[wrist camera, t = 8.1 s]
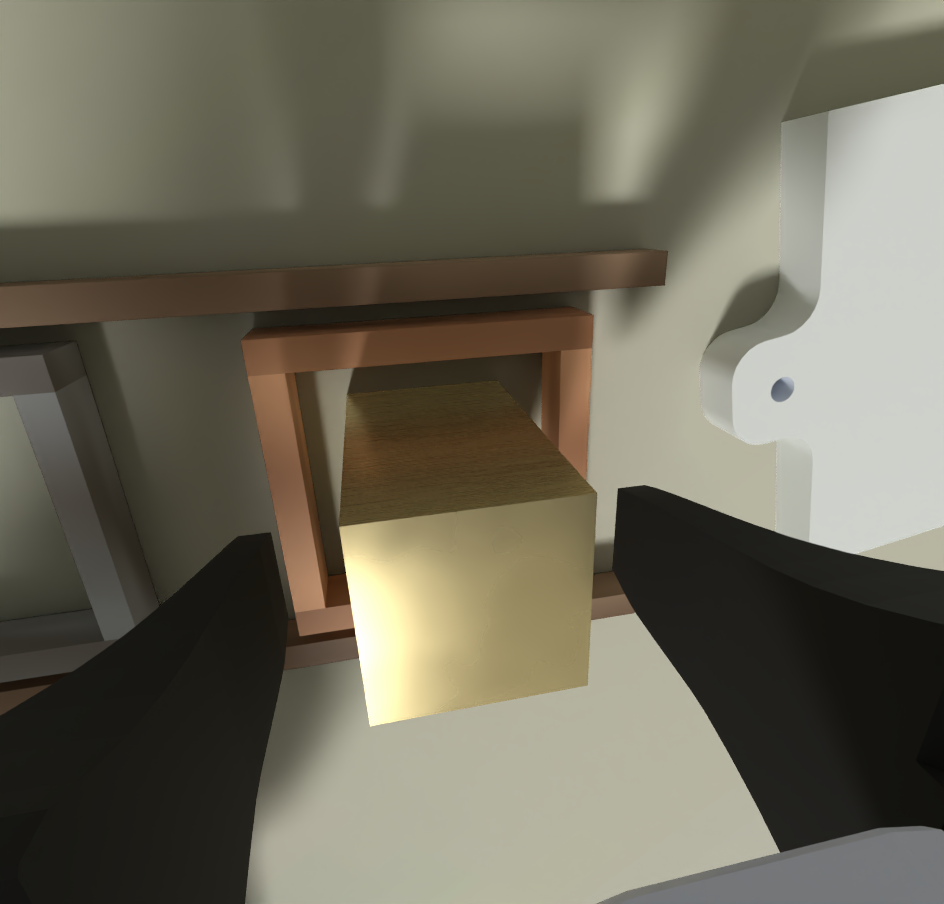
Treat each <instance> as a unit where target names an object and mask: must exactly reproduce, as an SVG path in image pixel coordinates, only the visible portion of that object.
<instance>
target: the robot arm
mask: <svg viewBox="0 0 944 904" xmlns="http://www.w3.org/2000/svg"><path fill="white" fill-rule="evenodd" d="M612 569H613V571H614V573H615V575H616V577H617V579H618V581H619V583H620V586H621V588H622V590H623V591H624V593H625V595H626V597H627V599H628V601H629V603H630V605H631V606H632V608H633V609H634V611H635V612H636V614H637V615H638V617H639V618H640V620H641V621H642V622H643V624H644V625H645V627H646V628H647V630H648V631H649V632H650V634H651V635H652V637H653V638H654V640H655V641H656V642H657V644H658V645H659V646H660V648H661V649H662V651H663V652H664V653H665V655H666V656H667V658H668V659H669V660H670V662H671V663H672V665H673V666H674V667H675V669H676V670H677V672H678V673H679V674H680V676H681V677H682V678H683V680H684V681H685V683H686V684H687V685H688V687H689V688H690V690H691V691H692V693H693V694H694V696H695V697H696V699H697V700H698V702H699V703H700V705H701V706H702V708H703V709H704V711H705V713H706V714H707V716H708V718H709V720H710V721H711V723H712V725H713V727H714V728H715V730H716V732H717V734H718V735H719V737H720V739H721V741H722V742H723V744H724V746H725V748H726V749H727V751H728V753H729V755H730V756H731V758H732V760H733V762H734V764H735V766H736V768H737V769H738V771H739V773H740V775H741V777H742V779H743V781H744V783H745V784H746V786H747V788H748V790H749V792H750V794H751V796H752V798H753V799H754V801H755V803H756V805H757V807H758V809H759V811H760V813H761V815H762V817H763V819H764V821H765V823H766V825H767V827H768V829H769V831H770V833H771V835H772V837H773V839H774V841H775V843H776V845H777V847H778V849H779V851H780V853H777V854H773V855H769V856H765V857H761V858H757V859H753V860H749V861H745V862H741V863H737V864H733V865H729V866H725V867H721V868H717V869H713V870H709V871H705V872H701V873H697V874H693V875H689V876H685V877H681V878H677V879H673V880H669V881H665V882H661V883H657V884H653V885H649V886H645V887H641V888H637V889H633V890H629V891H626V892H623V893H621V894H619V895H616V896H614V897H611V898H609V899H607V900H604V901H602V902H599V903H597V904H944V571H939V570H933V569H927V568H921V567H915V566H909V565H904V564H899V563H894V562H889V561H884V560H879V559H874V558H869V557H865V556H860V555H856V554H852V553H847V552H843V551H840V550H836V549H832V548H828V547H825V546H821V545H817V544H813V543H810V542H806V541H803V540H799V539H796V538H793V537H789V536H786V535H783V534H780V533H777V532H774V531H771V530H768V529H765V528H762V527H759V526H756V525H754V524H751V523H748V522H745V521H742V520H740V519H737V518H734V517H732V516H729V515H726V514H724V513H721V512H719V511H716V510H713V509H711V508H708V507H706V506H703V505H700V504H698V503H695V502H693V501H690V500H688V499H685V498H682V497H680V496H677V495H674V494H672V493H669V492H666V491H663V490H660V489H657V488H654V487H650V486H646V485H642V486H634V487H626V488H618V495H617V509H616V524H615V538H614V553H613V567H612ZM287 629H288V614H287V609H286V604H285V599H284V594H283V590H282V585H281V580H280V575H279V570H278V565H277V560H276V556H275V551H274V546H273V541H272V536H271V532H270V533H262V534H254V535H246V536H238V537H237V538H236V539H234V540H233V541H232V542H231V543H229V544H228V545H227V546H226V547H225V548H224V549H223V550H222V551H221V552H220V553H219V554H217V555H216V556H215V557H214V558H213V559H212V560H211V561H210V562H209V563H208V564H207V565H206V566H205V567H204V568H202V569H201V570H200V571H199V572H198V573H197V574H196V575H195V576H194V577H193V578H192V579H190V580H189V581H188V582H187V583H186V584H185V585H184V586H183V587H182V588H181V589H179V590H178V591H177V592H176V593H175V594H174V595H173V596H171V597H170V598H169V599H168V600H167V601H165V602H164V603H163V604H162V605H161V606H159V607H158V608H157V609H156V610H155V611H153V612H152V613H151V614H150V615H149V616H147V617H146V618H145V619H144V620H142V621H141V622H140V623H139V624H138V625H136V626H135V627H134V628H133V629H131V630H130V631H129V632H128V633H126V634H125V635H124V636H122V637H121V638H120V639H118V640H117V641H116V642H114V643H113V644H112V645H110V646H109V647H107V648H106V649H105V650H103V651H102V652H100V653H99V654H97V655H96V656H95V657H93V658H92V659H90V660H89V661H87V662H86V663H84V664H83V665H82V666H80V667H79V668H77V669H76V670H74V671H73V672H71V673H70V674H68V675H66V676H65V677H63V678H62V679H60V680H58V681H57V682H55V683H53V684H52V685H50V686H48V687H47V688H45V689H44V690H42V691H40V692H39V693H37V694H35V695H34V696H32V697H30V698H29V699H27V700H25V701H24V702H22V703H20V704H19V705H17V706H16V707H14V708H12V709H11V710H9V711H7V712H6V713H4V714H2V715H0V904H245V897H246V887H247V877H248V867H249V857H250V849H251V840H252V831H253V823H254V814H255V805H256V798H257V792H258V787H259V781H260V775H261V770H262V766H263V761H264V757H265V752H266V748H267V743H268V739H269V734H270V729H271V725H272V720H273V716H274V711H275V707H276V702H277V698H278V693H279V688H280V684H281V679H282V674H283V669H284V664H285V654H286V643H287Z"/></svg>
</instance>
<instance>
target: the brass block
mask: <svg viewBox="0 0 944 904" xmlns="http://www.w3.org/2000/svg"><path fill="white" fill-rule="evenodd" d="M596 506H597V492H596V491H595V490H594V489H593V488H592V487H591V486H590V485H589V483H588V482H587V481H586V480H585V479H584V478H583V477H582V476H581V475H580V473H579V472H578V471H577V470H576V469H575V468H574V467H573V466H572V464H571V463H570V462H569V461H568V460H567V459H566V458H565V457H564V455H563V454H562V453H561V452H560V451H559V450H558V449H557V448H556V446H555V445H554V444H553V443H552V442H551V441H550V440H549V439H548V438H547V436H546V435H545V434H544V433H543V432H542V431H541V430H540V429H539V427H538V426H537V425H536V424H535V423H534V422H533V421H532V420H531V418H530V417H529V416H528V415H527V414H526V413H525V412H524V411H523V409H522V408H521V407H520V406H519V405H518V404H517V403H516V402H515V401H514V399H513V398H512V397H511V396H510V395H509V394H508V393H507V392H506V390H505V389H504V388H503V387H502V386H501V385H500V384H499V383H498V381H497V380H492V381H481V382H471V383H460V384H449V385H439V386H428V387H417V388H407V389H396V390H385V391H375V392H364V393H353V394H347V404H346V420H345V437H344V453H343V470H342V486H341V503H340V519H339V530H340V536H341V543H342V549H343V555H344V562H345V568H346V575H347V581H348V587H349V594H350V600H351V607H352V613H353V619H354V626H355V632H356V638H357V645H358V651H359V658H360V664H361V670H362V677H363V683H364V690H365V696H366V702H367V709H368V715H369V721H370V726H373V725H378V724H384V723H389V722H394V721H400V720H405V719H410V718H416V717H421V716H426V715H432V714H437V713H442V712H448V711H453V710H458V709H464V708H469V707H474V706H480V705H485V704H490V703H496V702H501V701H506V700H512V699H517V698H522V697H528V696H533V695H538V694H544V693H549V692H554V691H560V690H565V689H570V688H576V687H581V686H586V685H588V668H589V648H590V627H591V607H592V587H593V567H594V547H595V527H596Z"/></svg>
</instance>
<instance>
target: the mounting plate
mask: <svg viewBox="0 0 944 904" xmlns="http://www.w3.org/2000/svg"><path fill="white" fill-rule="evenodd" d="M699 376H700V398H701V408H702V412H703V414H704V416H705V418H706V419H707V420H708V421H709V422H710V423H711V424H713V425H715V426H717V427H718V428H720V429H722V430H724V431H726V432H727V433H729V434H731V435H733V436H735V437H736V438H738V439H740V440H742V441H744V442H746V443H748V444H752V445H761V444H766V443H770V442H773V441H777V450H776V517H775V532H777V533H780V534H783V535H786V536H789V537H793V538H796V539H799V540H803V541H806V542H810V543H813V544H817V545H821V546H825V547H828V548H832V549H836V550H840V551H843V552H847V553H852V554H857V553H860V552H864V551H867V550H870V549H873V548H876V547H879V546H882V545H885V544H889V543H892V542H895V541H898V540H901V539H904V538H907V537H911V536H914V535H917V534H920V533H923V532H926V531H929V530H932V529H936V528H939V527H942V526H944V84H941V85H936V86H932V87H928V88H924V89H920V90H915V91H911V92H907V93H903V94H898V95H894V96H890V97H886V98H882V99H877V100H873V101H869V102H865V103H861V104H856V105H852V106H848V107H844V108H839V109H835V110H831V111H827V112H823V113H819V114H814V115H810V116H806V117H802V118H798V119H794V120H789V121H785V122H781V180H780V247H779V286H778V293H777V295H776V298H775V301H774V303H773V305H772V306H771V308H770V310H769V311H768V312H767V313H766V314H765V315H764V316H763V317H762V318H761V319H759V320H758V321H757V322H755V323H753V324H751V325H748V326H745V327H742V328H738V329H734V330H731V331H728V332H726V333H723V334H721V335H720V336H718V337H717V338H716V339H714V340H713V341H712V342H711V344H710V345H709V346H708V347H707V349H706V351H705V352H704V354H703V356H702V359H701V362H700V371H699Z"/></svg>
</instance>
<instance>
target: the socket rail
mask: <svg viewBox="0 0 944 904" xmlns="http://www.w3.org/2000/svg"><path fill="white" fill-rule="evenodd" d="M667 255H668V251H663V250H652V249H633V250H614V251H596V252H577V253H558V254H539V255H520V256H501V257H482V258H464V259H445V260H426V261H407V262H388V263H369V264H350V265H332V266H313V267H294V268H275V269H256V270H237V271H218V272H200V273H181V274H162V275H143V276H124V277H105V278H86V279H68V280H49V281H30V282H11V283H0V328H11V327H26V326H42V325H57V324H73V323H88V322H104V321H119V320H135V319H150V318H166V317H181V316H197V315H212V314H228V313H243V312H259V311H274V310H290V309H305V308H321V307H336V306H352V305H367V304H383V303H398V302H414V301H429V300H445V299H460V298H476V297H491V296H507V295H522V294H538V293H553V292H569V291H584V290H600V289H615V288H631V287H646V286H662V285H665V277H666V266H667ZM593 318H594V315H592V314H589V313H587V312H584V311H582V310H579V309H576V308H574V307H560V308H546V309H532V310H517V311H503V312H488V313H474V314H459V315H445V316H430V317H416V318H401V319H387V320H373V321H358V322H344V323H329V324H315V325H300V326H286V327H271V328H257V329H252V330H251V331H250V332H249V333H248V334H247V335H246V336H245V337H244V338H243V339H242V340H241V346H242V351H243V356H244V361H245V366H246V371H247V376H248V381H249V385H250V390H251V395H252V400H253V405H254V410H255V415H256V420H257V425H258V430H259V435H260V440H261V445H262V450H263V455H264V460H265V465H266V470H267V475H268V480H269V485H270V490H271V495H272V500H273V505H274V510H275V515H276V520H277V525H278V530H279V535H280V540H281V545H282V550H283V555H284V560H285V565H286V570H287V575H288V580H289V585H290V590H291V595H292V600H293V605H294V610H295V615H296V619H292V620H288V629H287V643H286V654H285V664H284V669H283V671H284V670H290V669H296V668H302V667H308V666H314V665H320V664H326V663H332V662H339V661H345V660H351V659H357V658H359V651H358V645H357V638H356V632H355V626H354V619H353V613H352V607H351V600H350V594H349V587H348V581H347V575H346V574H340V575H333V576H328V572H327V566H326V560H325V554H324V548H323V542H322V536H321V530H320V524H319V518H318V512H317V506H316V500H315V494H314V488H313V482H312V476H311V470H310V464H309V458H308V452H307V446H306V440H305V434H304V428H303V422H302V416H301V410H300V404H299V398H298V392H297V386H296V380H295V374H294V373H296V372H309V371H321V370H333V369H345V368H357V367H370V366H382V365H394V364H406V363H418V362H430V361H443V360H455V359H467V358H479V357H491V356H504V355H516V354H528V353H540V352H542V423H541V431H542V432H543V433H544V434H545V435H546V436H547V438H548V439H549V440H550V441H551V442H552V443H553V444H554V445H555V446H556V448H557V449H558V450H559V451H560V452H561V453H562V454H563V455H564V457H565V458H566V459H567V460H568V461H569V462H570V463H571V464H572V466H573V467H574V468H575V469H576V470H577V471H578V472H579V473H580V475H581V476H582V477H583V478H584V479H585V480H586V472H587V450H588V428H589V406H590V384H591V362H592V340H593ZM4 396H13V397H14V400H15V402H16V405H17V408H18V410H19V413H20V416H21V418H22V421H23V424H24V427H25V429H26V432H27V435H28V437H29V440H30V443H31V445H32V448H33V451H34V453H35V456H36V459H37V461H38V464H39V467H40V469H41V472H42V475H43V477H44V480H45V483H46V485H47V488H48V491H49V494H50V496H51V499H52V502H53V504H54V507H55V510H56V512H57V515H58V518H59V520H60V523H61V526H62V528H63V531H64V534H65V536H66V539H67V542H68V544H69V547H70V550H71V552H72V555H73V558H74V561H75V563H76V566H77V569H78V571H79V574H80V577H81V579H82V582H83V585H84V587H85V590H86V593H87V595H88V598H89V601H90V603H91V606H92V609H89V610H82V611H75V612H68V613H61V614H54V615H46V616H39V617H32V618H25V619H18V620H11V621H3V622H0V715H2V714H4V713H6V712H7V711H9V710H11V709H12V708H14V707H16V706H17V705H19V704H20V703H22V702H24V701H25V700H27V699H29V698H30V697H32V696H34V695H35V694H37V693H39V692H40V691H42V690H44V689H45V688H47V687H48V686H50V685H52V684H53V683H55V682H57V681H58V680H60V679H62V678H63V677H65V676H66V675H68V674H70V673H71V672H73V671H74V670H76V669H77V668H79V667H80V666H82V665H83V664H84V663H86V662H87V661H89V660H90V659H92V658H93V657H95V656H96V655H97V654H99V653H100V652H102V651H103V650H105V649H106V648H107V647H109V646H110V645H112V644H113V643H114V642H116V641H117V640H118V639H120V638H121V637H122V636H124V635H125V634H126V633H128V632H129V631H130V630H131V629H133V628H134V627H135V626H136V625H138V624H139V623H140V622H141V621H142V620H144V619H145V618H146V617H147V616H149V615H150V614H151V613H152V612H153V611H155V610H156V609H157V608H158V607H159V603H158V600H157V597H156V594H155V590H154V587H153V584H152V581H151V578H150V575H149V571H148V568H147V565H146V562H145V559H144V556H143V552H142V549H141V546H140V543H139V540H138V537H137V533H136V530H135V527H134V524H133V521H132V517H131V514H130V511H129V508H128V505H127V502H126V498H125V495H124V492H123V489H122V486H121V483H120V479H119V476H118V473H117V470H116V467H115V463H114V460H113V457H112V454H111V451H110V448H109V444H108V441H107V438H106V435H105V432H104V429H103V425H102V422H101V419H100V416H99V413H98V410H97V406H96V403H95V400H94V397H93V394H92V390H91V387H90V384H89V381H88V378H87V375H86V371H85V368H84V365H83V362H82V359H81V356H80V352H79V349H78V346H77V343H76V341H69V342H54V343H40V344H26V345H11V346H0V397H4ZM632 613H635V611H634V609H633V608H632V606H631V605H630V603H629V601H628V599H627V597H626V595H625V593H624V591H623V590H622V588H621V586H620V583H619V581H618V579H617V577H616V575H615V573H614V571H612V572H605V573H599V574H593V587H592V607H591V620H595V619H601V618H607V617H613V616H619V615H625V614H632Z"/></svg>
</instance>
